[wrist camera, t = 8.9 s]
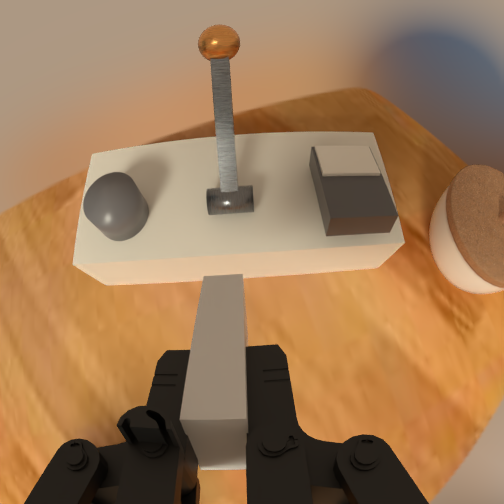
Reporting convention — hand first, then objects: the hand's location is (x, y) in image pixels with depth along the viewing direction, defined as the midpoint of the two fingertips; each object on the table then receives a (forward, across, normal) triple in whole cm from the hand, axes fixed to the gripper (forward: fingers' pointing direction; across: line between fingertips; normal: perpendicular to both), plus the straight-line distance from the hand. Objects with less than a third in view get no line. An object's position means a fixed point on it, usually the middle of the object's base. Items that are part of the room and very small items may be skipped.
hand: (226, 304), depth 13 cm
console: (+16, 0, -3) cm, 16 cm away
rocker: (+10, +8, +2) cm, 13 cm away
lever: (+10, 0, +1) cm, 10 cm away
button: (+11, -8, +1) cm, 14 cm away
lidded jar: (+13, +21, -6) cm, 26 cm away
